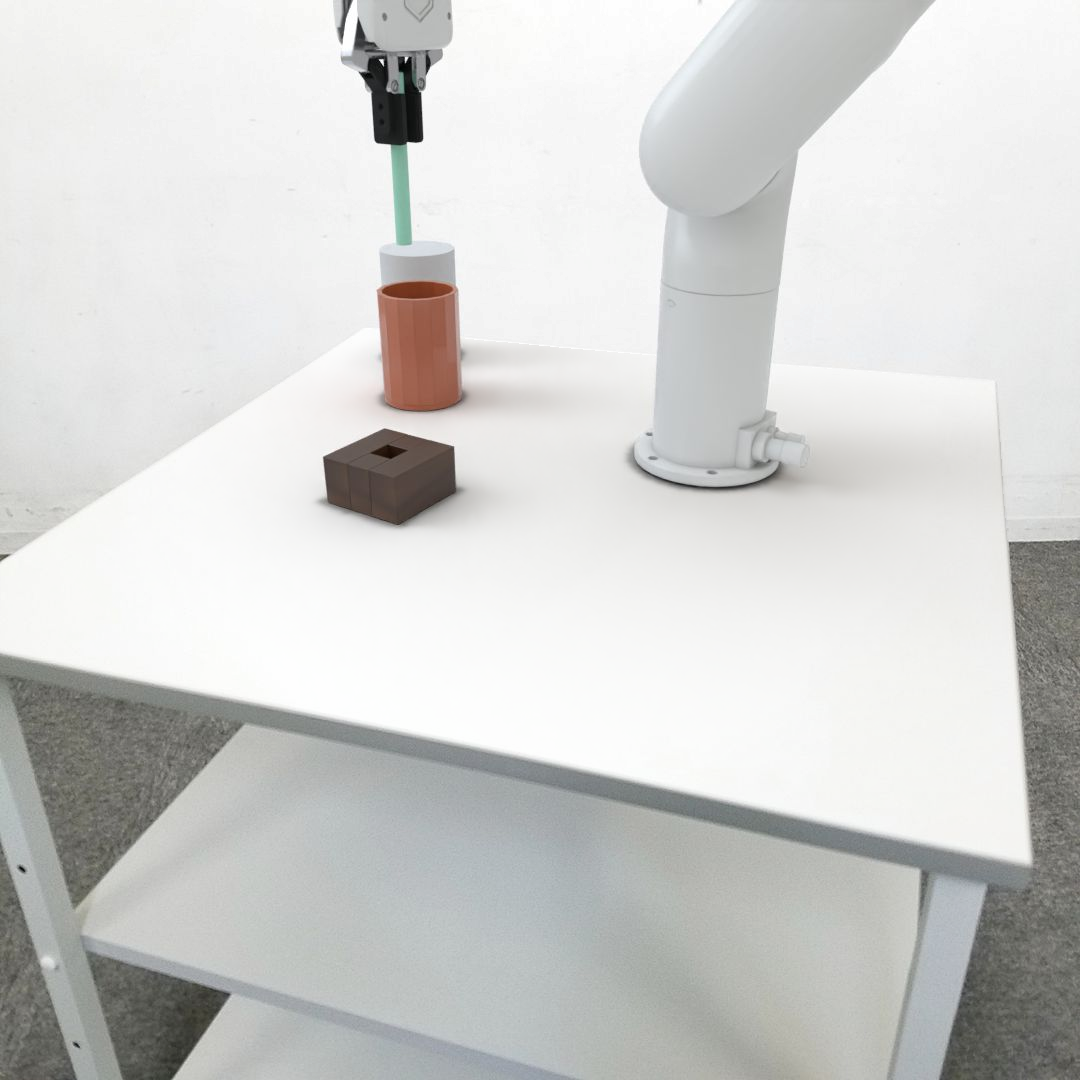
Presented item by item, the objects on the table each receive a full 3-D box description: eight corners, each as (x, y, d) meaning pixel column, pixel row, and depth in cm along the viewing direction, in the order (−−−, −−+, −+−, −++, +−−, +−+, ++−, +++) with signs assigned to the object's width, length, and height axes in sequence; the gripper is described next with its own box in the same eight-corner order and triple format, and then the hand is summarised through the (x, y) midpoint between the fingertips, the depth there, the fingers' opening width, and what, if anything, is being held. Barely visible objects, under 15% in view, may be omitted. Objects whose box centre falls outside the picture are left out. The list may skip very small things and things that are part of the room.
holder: (456, 491, 85) (454, 446, 83) (397, 524, 80) (394, 477, 78) (387, 471, 89) (384, 427, 87) (327, 502, 83) (322, 456, 81)
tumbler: (477, 393, 106) (473, 286, 101) (429, 416, 101) (423, 304, 95) (417, 380, 110) (412, 276, 105) (368, 401, 104) (360, 292, 99)
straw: (415, 243, 92) (406, 72, 86) (405, 246, 91) (396, 72, 85) (403, 241, 93) (393, 71, 87) (393, 244, 92) (382, 72, 85)
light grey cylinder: (463, 346, 121) (460, 241, 116) (451, 367, 114) (447, 257, 108) (395, 344, 122) (388, 240, 116) (379, 365, 115) (371, 255, 109)
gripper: (354, -123, 72) (373, 156, 81) (482, -106, 84) (487, 137, 92) (276, -118, 76) (302, 149, 84) (410, -102, 87) (421, 131, 96)
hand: (399, 141), depth 88 cm, fingers closed on straw, 1 cm apart
